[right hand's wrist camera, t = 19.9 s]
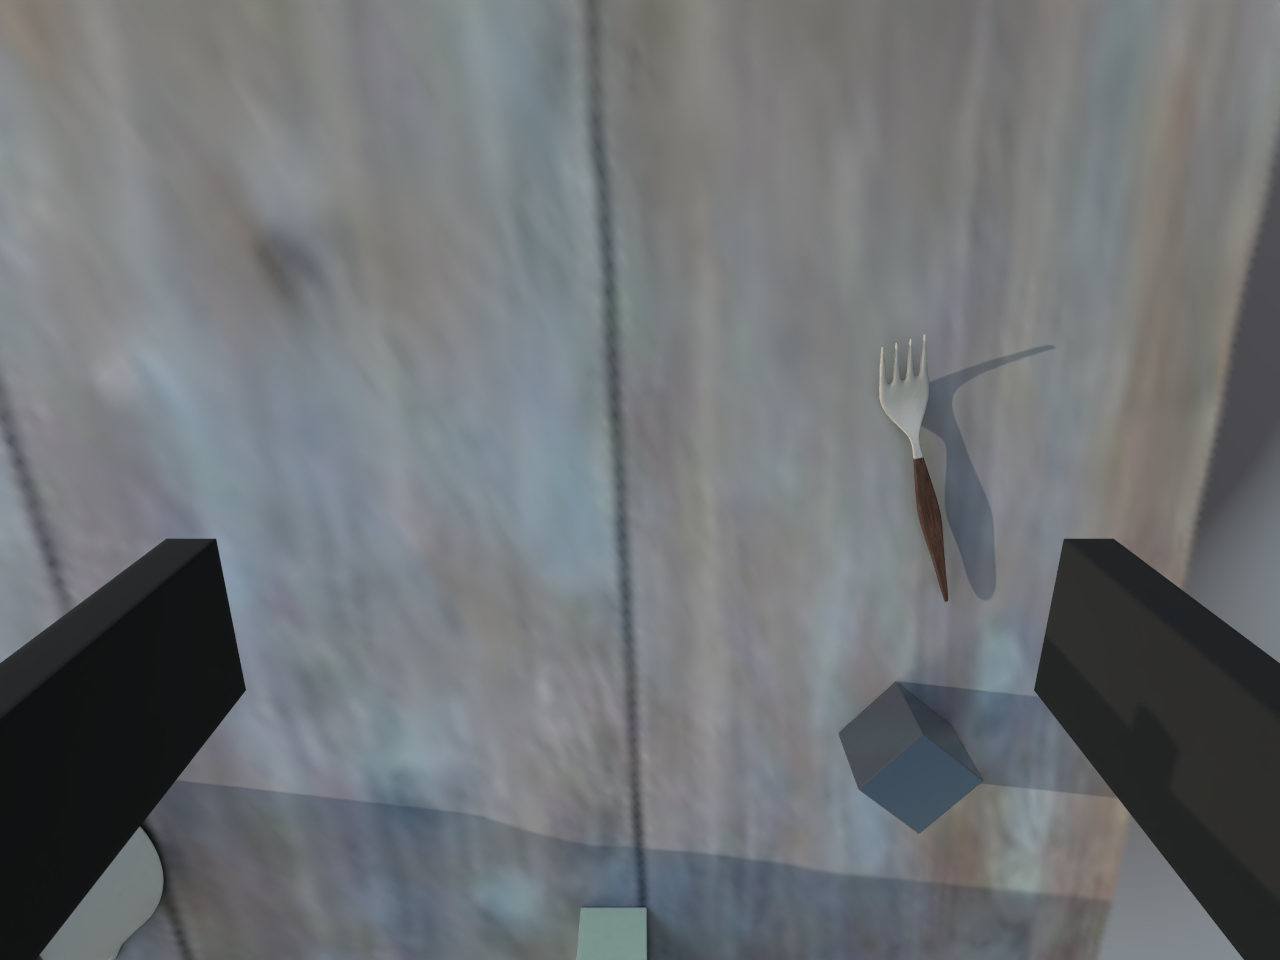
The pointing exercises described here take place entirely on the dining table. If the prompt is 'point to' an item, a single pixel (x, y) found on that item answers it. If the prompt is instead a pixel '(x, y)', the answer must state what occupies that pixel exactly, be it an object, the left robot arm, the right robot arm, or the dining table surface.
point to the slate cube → (908, 758)
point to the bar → (612, 934)
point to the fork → (916, 446)
